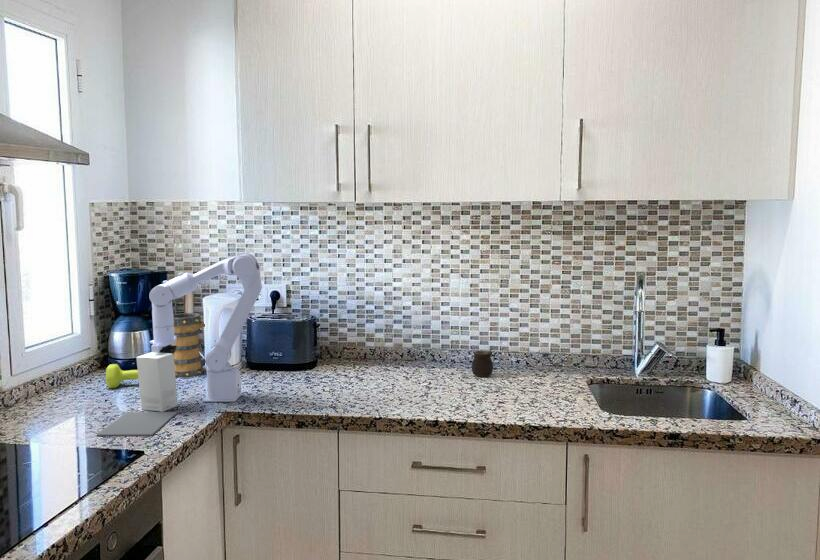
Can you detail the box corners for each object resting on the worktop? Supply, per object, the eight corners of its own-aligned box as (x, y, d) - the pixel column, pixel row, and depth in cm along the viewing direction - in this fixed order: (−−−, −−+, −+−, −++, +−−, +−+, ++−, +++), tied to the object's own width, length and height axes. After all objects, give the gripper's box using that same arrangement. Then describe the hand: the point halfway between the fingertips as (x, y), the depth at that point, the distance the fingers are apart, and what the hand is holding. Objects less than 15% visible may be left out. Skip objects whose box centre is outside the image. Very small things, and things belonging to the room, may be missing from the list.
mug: (166, 370, 239) (163, 313, 236) (218, 366, 244) (215, 310, 242) (167, 380, 227) (163, 320, 224) (221, 374, 232) (218, 316, 230)
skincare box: (178, 406, 198) (175, 353, 196) (161, 413, 192) (158, 358, 190) (156, 403, 201) (153, 350, 200) (138, 409, 195) (135, 355, 194)
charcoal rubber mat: (177, 413, 192) (177, 411, 192) (152, 435, 174) (151, 434, 174) (127, 413, 192) (127, 412, 192) (96, 436, 174) (96, 434, 174)
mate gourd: (474, 372, 232) (474, 343, 231) (496, 374, 230) (496, 344, 229) (468, 377, 226) (468, 347, 224) (491, 379, 223) (491, 349, 222)
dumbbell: (163, 380, 227) (162, 359, 226) (160, 387, 219) (158, 364, 218) (109, 384, 223) (108, 362, 222) (104, 390, 215) (103, 368, 214)
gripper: (159, 321, 208) (161, 365, 210) (139, 330, 194) (142, 377, 195) (182, 321, 208) (184, 365, 209) (164, 330, 193) (167, 377, 195)
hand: (165, 371), depth 202 cm, fingers closed
